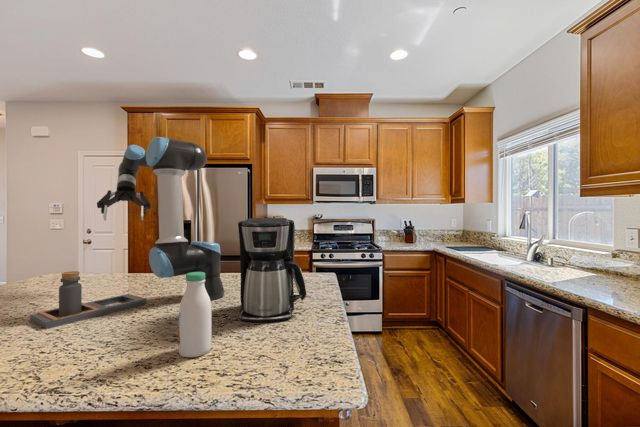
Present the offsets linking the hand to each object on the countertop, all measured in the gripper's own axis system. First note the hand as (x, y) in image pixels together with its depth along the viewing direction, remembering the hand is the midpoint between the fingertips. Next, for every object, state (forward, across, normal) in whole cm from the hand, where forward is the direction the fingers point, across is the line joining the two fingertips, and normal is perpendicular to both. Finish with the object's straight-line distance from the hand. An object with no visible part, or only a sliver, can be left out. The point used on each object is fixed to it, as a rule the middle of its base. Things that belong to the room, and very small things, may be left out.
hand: (123, 218), depth 131 cm
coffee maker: (+58, -51, +12) cm, 78 cm away
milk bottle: (+75, -20, +28) cm, 82 cm away
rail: (+39, +8, -7) cm, 41 cm away
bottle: (+42, +13, -5) cm, 44 cm away
